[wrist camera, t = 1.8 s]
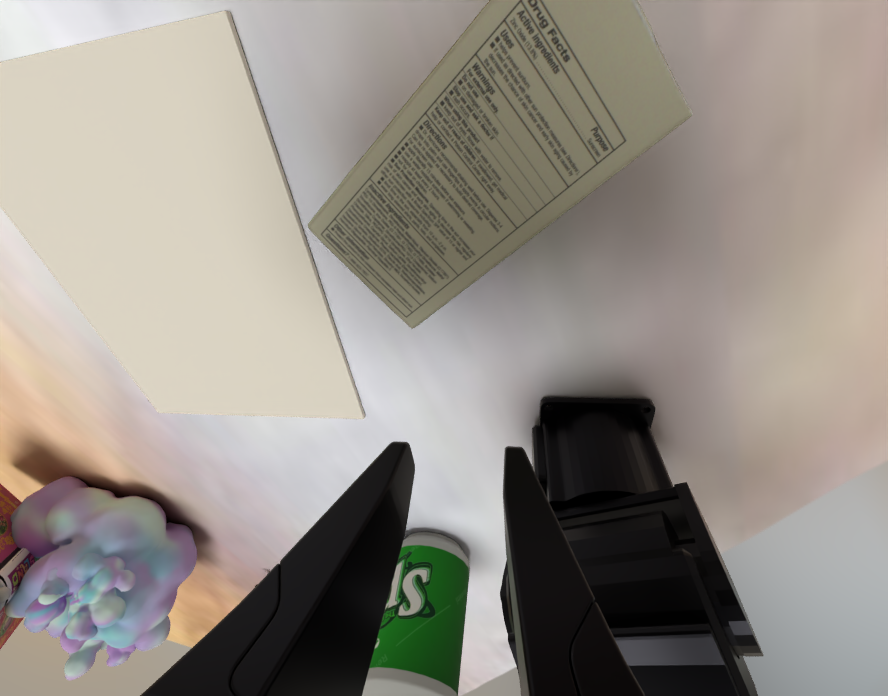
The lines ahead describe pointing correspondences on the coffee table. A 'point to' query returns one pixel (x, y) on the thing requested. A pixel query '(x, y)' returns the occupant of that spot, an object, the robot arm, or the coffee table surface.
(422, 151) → the skincare box
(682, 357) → the coffee table surface
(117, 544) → the lilac mottled toy
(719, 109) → the coffee table surface
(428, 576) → the soda can
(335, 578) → the robot arm
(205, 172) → the cream mat
